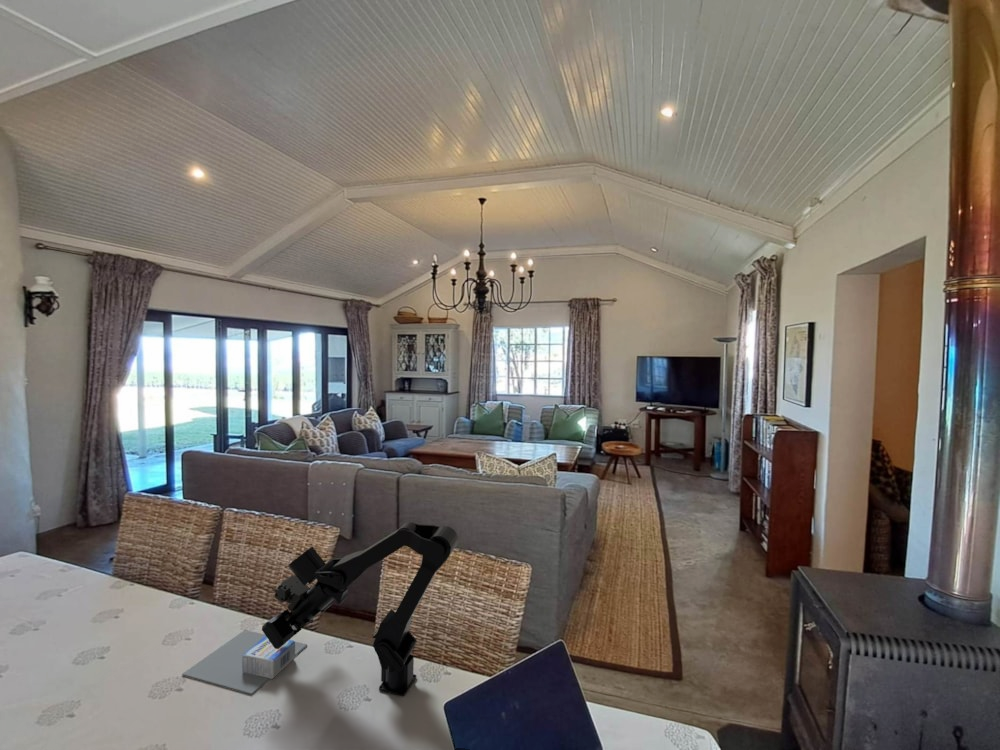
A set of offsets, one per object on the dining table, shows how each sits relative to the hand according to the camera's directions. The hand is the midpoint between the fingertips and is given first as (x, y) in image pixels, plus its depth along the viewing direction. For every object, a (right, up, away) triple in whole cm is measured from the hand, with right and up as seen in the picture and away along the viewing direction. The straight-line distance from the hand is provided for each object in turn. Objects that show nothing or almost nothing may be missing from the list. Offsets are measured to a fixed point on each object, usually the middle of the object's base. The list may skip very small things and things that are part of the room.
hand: (279, 633), depth 111 cm
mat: (-8, -7, 0) cm, 11 cm away
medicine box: (+3, -5, -3) cm, 6 cm away
